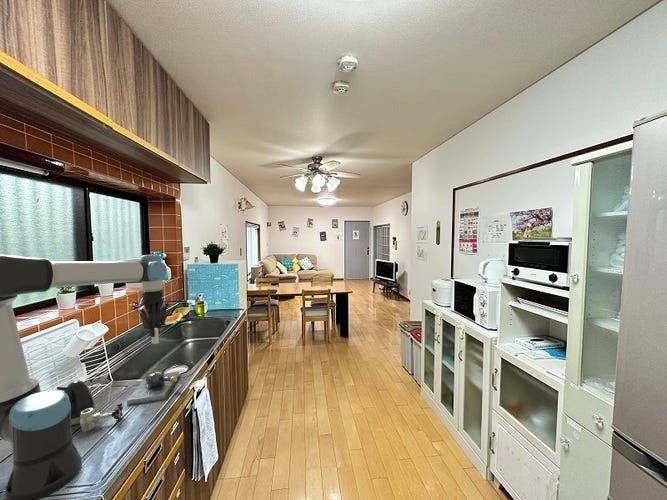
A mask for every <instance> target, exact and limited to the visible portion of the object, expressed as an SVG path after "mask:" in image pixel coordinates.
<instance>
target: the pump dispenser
mask: <svg viewBox="0 0 667 500" xmlns="http://www.w3.org/2000/svg"><path fill="white" fill-rule="evenodd" d="M56 390H57V391H62V392H65V393H66V394H67V395H68V397H69V401H70V403H71V409H70V411H71V426H75V425H79V424H80V419H81V417H80V412H82V411H83V410H85V409H88V408H93V410H95V407H96V406H95V405H96V404H95V403H96V402H95V399H94V396H93V395H94V394H92V393H93V392H92V391H91V389H90V387H89V386H88V385H87V384H86V382H84V381H83V380H74V381H71V382H70V383H69V384H68V385H66V386H57V387H56Z"/></svg>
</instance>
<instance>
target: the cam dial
mask: <svg viewBox="0 0 667 500" xmlns="http://www.w3.org/2000/svg"><path fill="white" fill-rule="evenodd" d="M164 374H165V371H164V370H163V369H155V370H154V371H151V372H149V373H147V372H146V374H145V378H146V383H145V386H146V387H147V388H155V387H158V386H160V385H162V384H163V383H164V381H170V382H171V383H174V384H175V383H176V382H177V380H178V378H177V377H176V376H172V377H167V376H164Z"/></svg>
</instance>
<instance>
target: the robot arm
mask: <svg viewBox="0 0 667 500" xmlns="http://www.w3.org/2000/svg"><path fill="white" fill-rule="evenodd" d="M167 273H168V269H167V265H166V264H165V263H164V262H162V257H161V255H159V254H146V255H145V254H144V255H141V256H140V260H128V261H124V260H123V261H117V260H116V261H115V260H114V261H112V260H111V261H52V260H50V259H49V258H47V257H27V256H26V257H25V256H17V255H8V254H0V439H1V440H3V441H6V442H8V443H10V444H11V449H12V461H13V467H12V468H11V469H12V470H11V472H10V475H9V479H8V480H7V483H6V487H5V489H4V490H5V491H4V492H5V493H4V494H5V500H40V499H42V498H44V497H47V496H48V495H49V496H50V495H51V494H52V493H54V492H56V491H58V490H59V489H61V488H63V487H64V486H66V485H67V484H69V483H70V482H71V481H72V480H73V479H75V477H76V476H77V475H78V474H79V473H80V472H81V469H82V466H83V460H82V455H81V454H80V453H79V451H78V450H77V447H76V445H75V444H74V442H73V434H72V433H73V432H72V431H73V430H72V425H71V411H70V409H71V403H70V401H69V397H68V395H67V394H66V393H65V392H64V391H62V390H57V389H56V390H55V389H52V390H50V391H49V390H45V391H42V389H41V387H40V383H39V380H38V379H36V378H32V377H30V376H31V375H30V373H29V368H28V365H27V361H26V357H25V352H24V349H23V345H22V344H23V343H22V341H21V336H20V332H19V329H18V324H17V320H16V316H15V313H14V308H13V304H12V303H14V301H15V300H16V299H17V298H18V297H19V295H25V294H33V293H34V294H35V293H46V292H48V291H49V290H50V289H51V288H65V287H79V286H91V285H103V284H104V285H105V284H118V283H119V284H121V283H134V282H135V283H136V282H141V285H142V286H141V287H142V288H141V289H142V300H143V303H142V306H141V307H140V308H137V310H136V311H137V312H138V313H139V315H140V319H141V321H142V325H143V328H144V329H145V330H148V331H149V337H150V338H151V344H154V345H157V344H159V343H160V334H161V328H162V327H163V326H164V325H165V321H166V315H167V310H168V307H169V303H168V302H166V301H164V300H163V298H164V291H163V288H164V286H163V279H165V277H166V276H167V275H168V274H167Z"/></svg>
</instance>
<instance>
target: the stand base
mask: <svg viewBox="0 0 667 500" xmlns="http://www.w3.org/2000/svg"><path fill="white" fill-rule="evenodd" d="M154 370H156V367H150V368H149V369H148V370H147V372H146V374H147V373H149V372H151V371H154ZM164 376H167V377H172V376H176V377H177V379H178V378H179V377H180V371H174V372H166V373H165V372H164ZM145 383H146V377H144V379H143V380H142V381H141V383H140V384H139V385H138V386H137V388H135V390H134V391H133V392H132V393H131V395H130V396H129V398H127V400H126V406H131V405H137V404H145V403H150V402H157V401H164V400H166V399H167V398H168V395H169V393H170V392H171V390H172V389H173V388H174V385H175V383H171V382H170V381H164V383H163V384H162V385H160V386H158V387H155V388H147V387H146V386H145Z"/></svg>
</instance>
